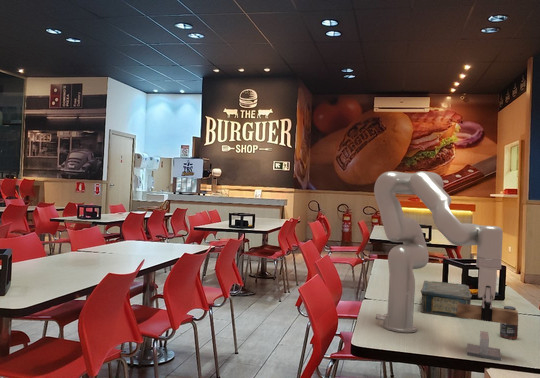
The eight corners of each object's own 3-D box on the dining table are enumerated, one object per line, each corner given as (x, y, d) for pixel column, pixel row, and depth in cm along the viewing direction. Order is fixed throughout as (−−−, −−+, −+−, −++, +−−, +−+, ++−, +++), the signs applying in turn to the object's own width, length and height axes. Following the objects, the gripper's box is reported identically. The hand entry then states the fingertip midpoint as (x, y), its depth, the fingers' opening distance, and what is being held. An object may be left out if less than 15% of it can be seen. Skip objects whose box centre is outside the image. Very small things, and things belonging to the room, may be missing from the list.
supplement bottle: (512, 335, 185) (513, 305, 185) (520, 340, 179) (522, 309, 179) (496, 334, 185) (498, 304, 185) (504, 339, 179) (506, 308, 179)
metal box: (418, 313, 214) (420, 290, 214) (422, 299, 244) (423, 279, 244) (471, 320, 206) (472, 296, 206) (467, 305, 237) (469, 284, 237)
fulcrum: (466, 354, 158) (467, 336, 158) (467, 346, 167) (468, 329, 167) (501, 360, 154) (502, 341, 154) (499, 351, 163) (500, 333, 163)
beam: (456, 317, 162) (457, 305, 162) (457, 314, 166) (457, 302, 166) (517, 325, 155) (518, 312, 155) (516, 322, 159) (517, 310, 159)
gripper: (476, 259, 170) (473, 312, 170) (476, 265, 155) (473, 323, 154) (500, 261, 167) (497, 315, 167) (502, 267, 152) (500, 326, 151)
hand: (486, 318), depth 161 cm, fingers closed on beam, 4 cm apart
